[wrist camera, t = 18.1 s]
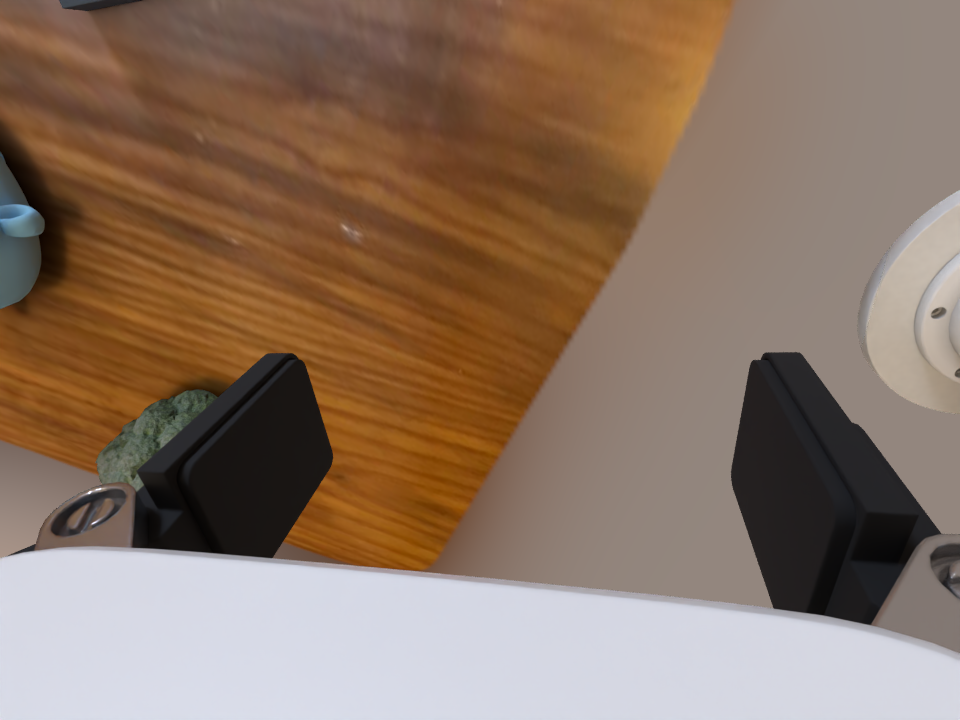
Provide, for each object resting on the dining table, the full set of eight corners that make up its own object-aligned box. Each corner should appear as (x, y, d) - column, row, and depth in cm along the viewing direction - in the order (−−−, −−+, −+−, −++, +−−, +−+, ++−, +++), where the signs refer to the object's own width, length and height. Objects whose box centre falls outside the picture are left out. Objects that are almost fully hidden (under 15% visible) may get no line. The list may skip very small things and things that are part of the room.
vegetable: (258, 532, 52) (79, 517, 44) (290, 410, 55) (127, 376, 47) (286, 563, 42) (62, 551, 34) (324, 412, 45) (124, 368, 37)
